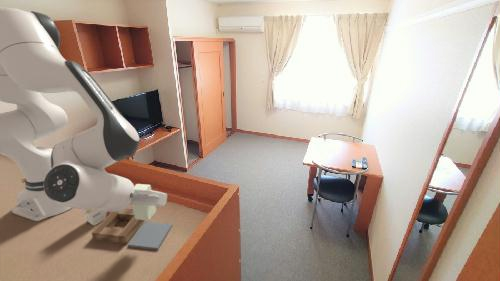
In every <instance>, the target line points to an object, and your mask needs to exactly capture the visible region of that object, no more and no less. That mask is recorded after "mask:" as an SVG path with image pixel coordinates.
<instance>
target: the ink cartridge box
mask: <svg viewBox="0 0 500 281" xmlns="http://www.w3.org/2000/svg"><path fill="white" fill-rule="evenodd" d="M81 210H82V212H83V215H84V216H85V220H86V221H87V223H90V225H92V226H96V225H98V224H100V223H101V222H102V221H103V220H104V219H105V218H106V217H107V216H108V215H109V214H110V213H111V212H108V211H98V210H95V209H89V210H87V209H81Z"/></svg>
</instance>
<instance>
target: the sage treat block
mask: <svg viewBox="0 0 500 281" xmlns="http://www.w3.org/2000/svg"><path fill="white" fill-rule="evenodd" d="M134 189H142V190H152V186H151V184H143V183H136V184H135V185H134ZM130 205H131V209H133V212H134V215H135V219H139V220H145V221H150V220H151V219H152V217H153V216H154V214H155V213H156V212H157V206H148V205H136V204H130Z"/></svg>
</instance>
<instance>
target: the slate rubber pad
mask: <svg viewBox="0 0 500 281" xmlns="http://www.w3.org/2000/svg"><path fill="white" fill-rule="evenodd" d="M172 228H173V224H172V223H165V222H153V221H147V220H145V221H144V223H143V224H142V225H141V227H140V228H139V229H138V230H137V232H136V233H135V234H134V236H133V237H132V238H131V240H130V241H129V242H128V243H127V245H128V246H127V247H131V248H137V249H138V248H140V249H148V250H149V249H150V250H154V251H155V250H156V251H158V250H159V249H160V247H161V246H162V244H163V242H164V241H165V239H166V238H167V235H168V234H169V233H170V231H171V229H172Z"/></svg>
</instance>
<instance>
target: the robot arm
mask: <svg viewBox="0 0 500 281" xmlns="http://www.w3.org/2000/svg"><path fill="white" fill-rule="evenodd" d="M60 46H61V35H60V31H59V29H58V26H57V25H56V23H55V21H54V20H53V19H52V18H51V17H50V16H49V15H46V14H45V13H40V12H37V11H32V10H31V11H26V10H23V9H20V8H16V7H3V6H0V102H3V103H8V104H14V105H16V109H13V110H9V111H5V112H2V113H0V155H2V156H4V157H7V158H8V159H11V160H12V161H13V162H14V163H15V164H16V165H17V167H18V169H20V172H21V173H22V175H23V177H24V178H23V179H21V180H20V182H21V184H24V186H25V187H24V189H23V190H21V191H20V192H19V193H18V194H17V196H16V199H15V200H16V202H17V205H16V206H15V207H13V208H12V211H11V212H12V214H14V215H17V216H20V217H23V218H26V219H28V220H31V221H33V222H34V221H35V222H40V221H42V220H44V219H47V218H50V217H53V216H58V215H60V214H62V213H65V212H67V211H69V210H70V209H78V210H82V209H87V210H89V209H95V210H98V211H108V212H119V211H122V210H124V209H127V207H128V206H130V205H131V204H136V205H148V206H156V207H161V208H162V207H165V206H166V203H167V200H168V194H167V193H165V192H162V191H159V190H158V191H157V190H142V189H134V186H135V185H134V183H133V182H132V181H131V180H130V179H129V178H126V177H123V176H120V175H117V174H115V173H114V174H113V173H109V172H107V171H106V168H107V167H110V166H111V165H113V164H116V163H117V162H121V161H123V160H125V159H129V158H132V157H133V156H135V155H136V153H137V151H138V149H139V146H140V142H141V138H140V135H139V133H138V131H137V130H136V128H135V127H134V126H133V125H132V124H131V122H129V121H128V120H127V118H126V117H125V116H124V115H123V113H122V112H121V111H119V109H118V108H117V107H116V105H115V104H114V103H113V102H112V100H111V99H110V98H109V96H108V95H107V93H106V92H105V91H104V90H103V88H102V87H101V86H100V85H99V84H98V82H97V81H96V79H94V77H93V76H92V75H91V73H89V72H88V70H86V69H85V68H84V67H83V66H82V65H80V64H79V63H77V62H76V61H74V60H66V58H65V57H63V56H62V54H61V52H60V50H59V48H60ZM67 92H68V93H69V92H74V93H75V92H76V93H77V94H78V96H80V98H81V99H82V100H83V101H84V103H85V104H86V105H87V107H88V108H89V109H90V111H92V113H93V114H94V115H95V117H96V118H97V122H96V124H95V125H94V126H91V127H89V128H88V129H86V130H84V131H81V132H80V133H78V134H75V135H72V136H70V137H68V138H66V139H65V140H62V141H61V142H58V143H57V144H55V146H53V148H50V147H44V146H35V145H34V143H33V141H35V140H38V139H41V138H45V137H47V136H50V135H54V134H55V133H57V132H59V131H61V130H62V129H65V128H66V127H67V125H68V122H69V121H68V120H69V117H68V115H67V113H66V111H65V110H64V109H63V108H62V107H61V106H59V105H57V104H55V103H52V102H50V101H49V100H47V99H46V98H44V96H43V95H42V93H43V94H44V93H45V94H55V93H56V94H57V93H67Z"/></svg>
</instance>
